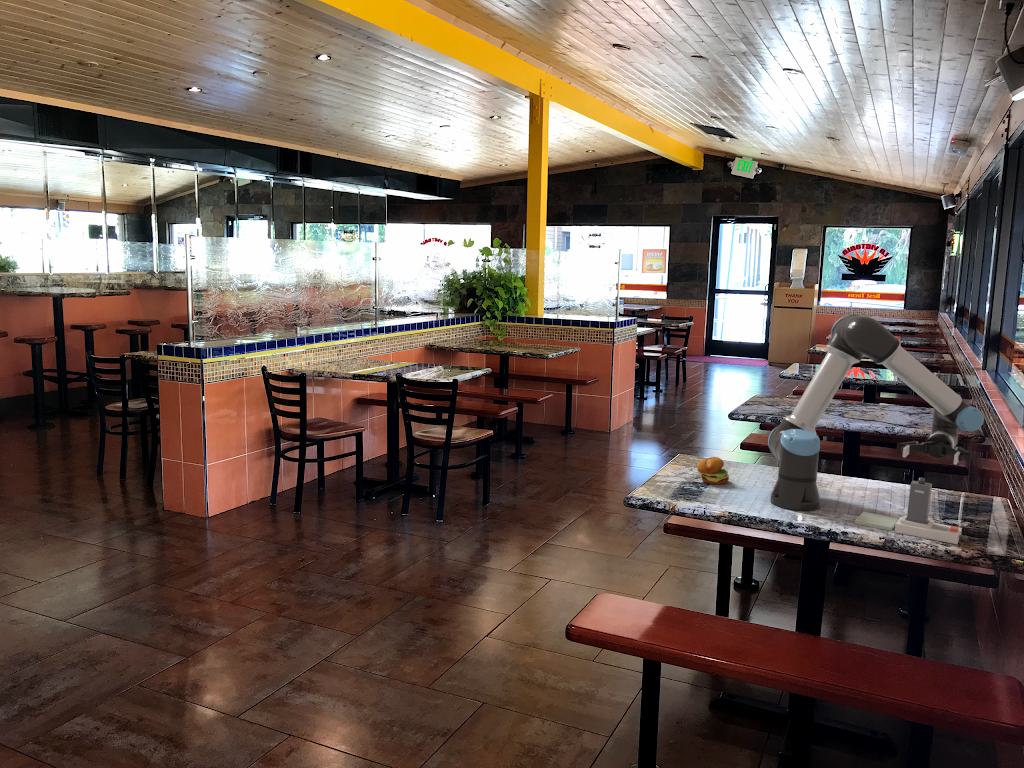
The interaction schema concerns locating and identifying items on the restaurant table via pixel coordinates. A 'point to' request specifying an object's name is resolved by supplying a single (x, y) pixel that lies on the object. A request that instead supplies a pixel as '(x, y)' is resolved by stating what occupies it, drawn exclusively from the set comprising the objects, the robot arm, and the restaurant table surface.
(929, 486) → the block
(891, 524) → the mat
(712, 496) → the restaurant table surface
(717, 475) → the cheeseburger
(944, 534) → the power strip
